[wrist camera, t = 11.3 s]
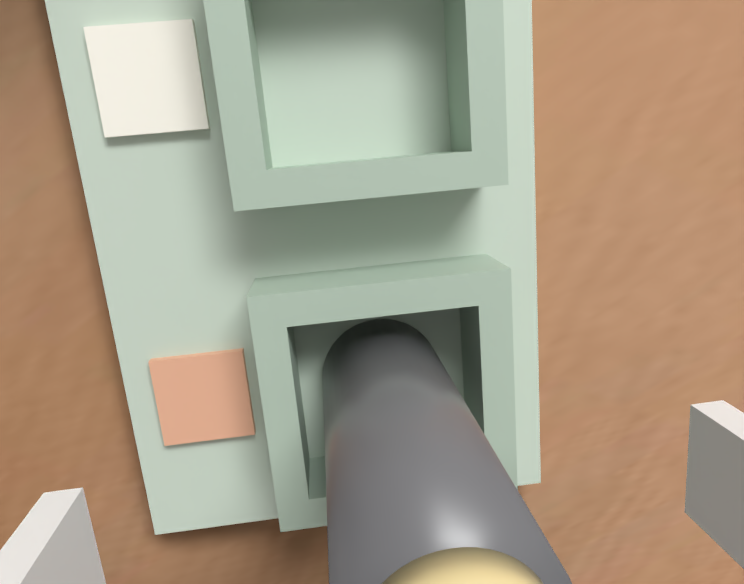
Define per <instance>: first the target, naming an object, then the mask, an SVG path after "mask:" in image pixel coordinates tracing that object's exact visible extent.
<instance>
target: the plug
mask: <svg viewBox="0 0 744 584" xmlns="http://www.w3.org/2000/svg"><path fill="white" fill-rule="evenodd" d="M322 377H323V408H324V439H325V469H326V500H327V531H328V562H329V584H572V583H571V580H570V578H569V576H568V574H567V573H566V571H565V569H564V568H563V566H562V564H561V563H560V561H559V559H558V557H557V556H556V554H555V552H554V551H553V549H552V547H551V546H550V544H549V542H548V541H547V539H546V537H545V536H544V534H543V532H542V531H541V529H540V527H539V525H538V524H537V522H536V520H535V519H534V517H533V515H532V514H531V512H530V510H529V509H528V507H527V505H526V504H525V502H524V500H523V499H522V497H521V495H520V494H519V492H518V490H517V488H516V487H515V485H514V483H513V482H512V480H511V478H510V477H509V475H508V473H507V472H506V470H505V468H504V467H503V465H502V463H501V462H500V460H499V458H498V456H497V455H496V453H495V451H494V450H493V448H492V446H491V445H490V443H489V441H488V440H487V438H486V436H485V435H484V433H483V431H482V430H481V428H480V426H479V425H478V423H477V421H476V419H475V418H474V416H473V414H472V413H471V411H470V409H469V408H468V406H467V404H466V403H465V401H464V399H463V398H462V396H461V394H460V393H459V391H458V389H457V387H456V386H455V384H454V382H453V381H452V379H451V377H450V376H449V374H448V372H447V371H446V369H445V367H444V366H443V364H442V362H441V361H440V359H439V357H438V355H437V354H436V352H435V350H434V349H433V347H432V345H431V344H430V342H429V341H428V340H427V338H426V337H425V336H424V335H423V334H422V333H421V332H419V331H418V330H417V329H415V328H414V327H412V326H410V325H408V324H406V323H403V322H400V321H397V320H392V319H375V320H369V321H365V322H362V323H360V324H357V325H355V326H353V327H352V328H350V329H348V330H347V331H345V332H344V333H343V334H342V335H341V336H340V337H339V338H338V339H337V340H336V341H335V342H334V344H333V345H332V346H331V348H330V350H329V352H328V353H327V356H326V359H325V362H324V366H323V374H322Z"/></svg>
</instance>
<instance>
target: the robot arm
mask: <svg viewBox="0 0 744 584" xmlns="http://www.w3.org/2000/svg"><path fill="white" fill-rule="evenodd" d="M685 513H686V514H687V515H688V516H689V517H690V518H691V519H692V520H693V521H694V522H695V523H697V524H698V525H699V526H700V527H701V528H702V529H703V530H704V531H705V532H706V533H707V534H708V535H709V536H710V537H711V538H712V539H713V540H714V541H715V542H716V543H717V544H718V545H719V546H720V547H721V548H723V549H724V550H725V551H726V552H727V553H728V554H729V555H730V556H731V557H732V558H733V559H734V560H735V561H736V562H737V563H738V564H739V565H740V566H741V567H742V568H743V569H744V413H743V412H741V411H740V410H738V409H736V408H735V407H733V406H731V405H730V404H728V403H726V402H725V401H723V400H722V401H714V402H707V403H700V404H692V405H691V408H690V426H689V444H688V462H687V479H686V497H685ZM0 584H106V582H105V577H104V573H103V569H102V565H101V561H100V557H99V553H98V548H97V544H96V540H95V536H94V532H93V528H92V523H91V519H90V515H89V511H88V507H87V503H86V499H85V494H84V490H83V488H76V489H69V490H61V491H54V492H47V493H43V495H42V496H41V497H40V499H39V500H38V501H37V502H36V504H35V505H34V506H33V508H32V509H31V510H30V512H29V513H28V514H27V516H26V517H25V518H24V520H23V521H22V522H21V524H20V525H19V526H18V528H17V529H16V530H15V532H14V533H13V534H12V536H11V537H10V538H9V540H8V541H7V542H6V544H5V545H4V546H3V548H2V549H1V550H0Z"/></svg>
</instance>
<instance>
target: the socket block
mask: <svg viewBox="0 0 744 584" xmlns="http://www.w3.org/2000/svg"><path fill="white" fill-rule="evenodd" d="M45 5H46V9H47V14H48V19H49V24H50V29H51V34H52V38H53V43H54V48H55V53H56V58H57V63H58V68H59V72H60V77H61V82H62V87H63V92H64V97H65V101H66V106H67V111H68V116H69V121H70V126H71V130H72V135H73V140H74V145H75V150H76V155H77V159H78V164H79V169H80V174H81V179H82V184H83V188H84V193H85V198H86V203H87V208H88V213H89V217H90V222H91V227H92V232H93V237H94V242H95V246H96V251H97V256H98V261H99V266H100V271H101V275H102V280H103V285H104V290H105V295H106V300H107V304H108V309H109V314H110V319H111V324H112V329H113V333H114V338H115V343H116V348H117V353H118V358H119V362H120V367H121V372H122V377H123V382H124V387H125V391H126V396H127V401H128V406H129V411H130V416H131V420H132V425H133V430H134V435H135V440H136V445H137V449H138V454H139V459H140V464H141V469H142V474H143V478H144V483H145V488H146V493H147V498H148V503H149V507H150V512H151V517H152V522H153V527H154V532H155V535H158V534H165V533H173V532H180V531H187V530H195V529H202V528H210V527H217V526H224V525H232V524H239V523H246V522H254V521H261V520H269V519H276V518H279V525H280V532H285V531H292V530H300V529H307V528H314V527H322V526H327V500H326V469H325V439H324V408H323V377H322V374H323V366H324V362H325V359H326V356H327V353H328V352H329V350H330V348H331V346H332V345H333V344H334V342H335V341H336V340H337V339H338V338H339V337H340V336H341V335H342V334H343V333H344V332H345V331H347V330H348V329H350V328H352V327H353V326H355V325H357V324H360V323H362V322H365V321H369V320H375V319H392V320H397V321H400V322H403V323H406V324H408V325H410V326H412V327H414V328H415V329H417V330H418V331H419V332H421V333H422V334H423V335H424V336H425V337H426V338H427V340H428V341H429V342H430V344H431V345H432V347H433V349H434V350H435V352H436V354H437V355H438V357H439V359H440V361H441V362H442V364H443V366H444V367H445V369H446V371H447V372H448V374H449V376H450V377H451V379H452V381H453V382H454V384H455V386H456V387H457V389H458V391H459V393H460V394H461V396H462V398H463V399H464V401H465V403H466V404H467V406H468V408H469V409H470V411H471V413H472V414H473V416H474V418H475V419H476V421H477V423H478V425H479V426H480V428H481V430H482V431H483V433H484V435H485V436H486V438H487V440H488V441H489V443H490V445H491V446H492V448H493V450H494V451H495V453H496V455H497V456H498V458H499V460H500V462H501V463H502V465H503V467H504V468H505V470H506V472H507V473H508V475H509V477H510V478H511V480H512V482H513V483H514V485H515V487H516V488H517V490H518V486H519V485H527V484H534V483H541V474H540V421H539V368H538V315H537V262H536V208H535V155H534V102H533V49H532V0H45Z"/></svg>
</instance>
